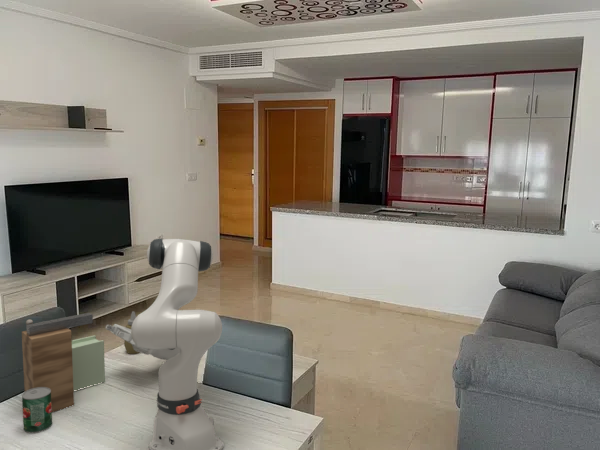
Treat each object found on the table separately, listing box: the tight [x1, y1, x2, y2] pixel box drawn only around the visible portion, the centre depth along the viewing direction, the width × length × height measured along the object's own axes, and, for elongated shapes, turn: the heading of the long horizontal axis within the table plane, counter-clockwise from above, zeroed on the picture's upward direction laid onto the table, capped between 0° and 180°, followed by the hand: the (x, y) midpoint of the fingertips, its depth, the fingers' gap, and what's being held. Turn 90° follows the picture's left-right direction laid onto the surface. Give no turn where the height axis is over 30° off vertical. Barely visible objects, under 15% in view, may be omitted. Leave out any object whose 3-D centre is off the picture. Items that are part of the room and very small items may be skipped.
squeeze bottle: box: [123, 310, 140, 355], centre depth 209 cm, size 8×8×18 cm
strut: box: [25, 312, 94, 336], centre depth 161 cm, size 3×20×3 cm, turn 136°
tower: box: [21, 319, 75, 413], centre depth 160 cm, size 10×12×30 cm
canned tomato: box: [21, 387, 53, 434], centre depth 148 cm, size 8×8×11 cm
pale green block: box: [72, 334, 106, 391], centre depth 176 cm, size 8×15×16 cm, turn 136°
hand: (112, 330), depth 175 cm, fingers open, 8 cm apart
